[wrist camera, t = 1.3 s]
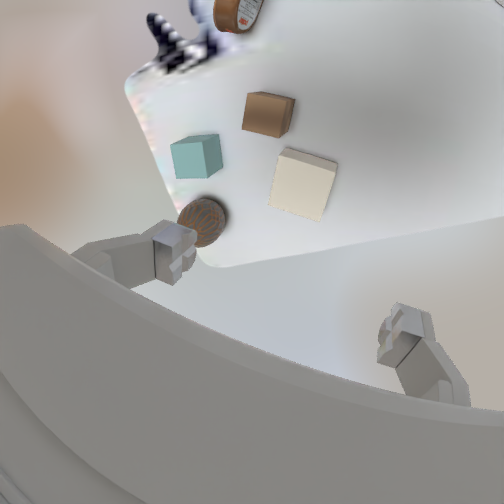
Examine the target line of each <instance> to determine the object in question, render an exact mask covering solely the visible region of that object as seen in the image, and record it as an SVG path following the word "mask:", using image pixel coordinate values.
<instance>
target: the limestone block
mask: <svg viewBox="0 0 504 504" xmlns="http://www.w3.org/2000/svg"><path fill="white" fill-rule="evenodd" d="M336 170H337V163H334V162H331V161H328V160H325V159H322V158H319V157H316V156H313V155H309V154H306V153H303V152H300V151H296V150H293V149H289V148H285V149H284V150H283V151H282V152H281V153H280V154H279V157H278V161H277V166H276V170H275V175H274V179H273V184H272V188H271V193H270V198H269V202H268V205H269V206H272V207H275V208H278V209H281V210H284V211H287V212H290V213H293V214H296V215H299V216H302V217H305V218H308V219H311V220H314V221H317V222H320V220H321V217H322V214H323V211H324V208H325V205H326V202H327V199H328V196H329V193H330V190H331V187H332V184H333V181H334V178H335V174H336Z"/></svg>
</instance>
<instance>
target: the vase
mask: <svg viewBox="0 0 504 504" xmlns="http://www.w3.org/2000/svg"><path fill="white" fill-rule="evenodd" d="M177 224H180V225H182V226H185V227H188V228H190V229H193V230H196V232H197V241H196V242H195V243H194V246H195V247H197V248H199V247H205V246H208V245H210V244H211V243H213V242H214V241H216V240H217V239H218V237H219V236H220V235H221V233H222V231H223V229H224V226H225V215H224V212H223V210H222V208H221V207H220V206H219V205H218V204H217V203H216V202H214V201H212V200H209V199H198V200H195V201H193V202H191V203H189V204H188V205H187V206H186V207H185V208H184V209H183V210H182V211H181V213H180V215H179V217H178V220H177Z"/></svg>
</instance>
